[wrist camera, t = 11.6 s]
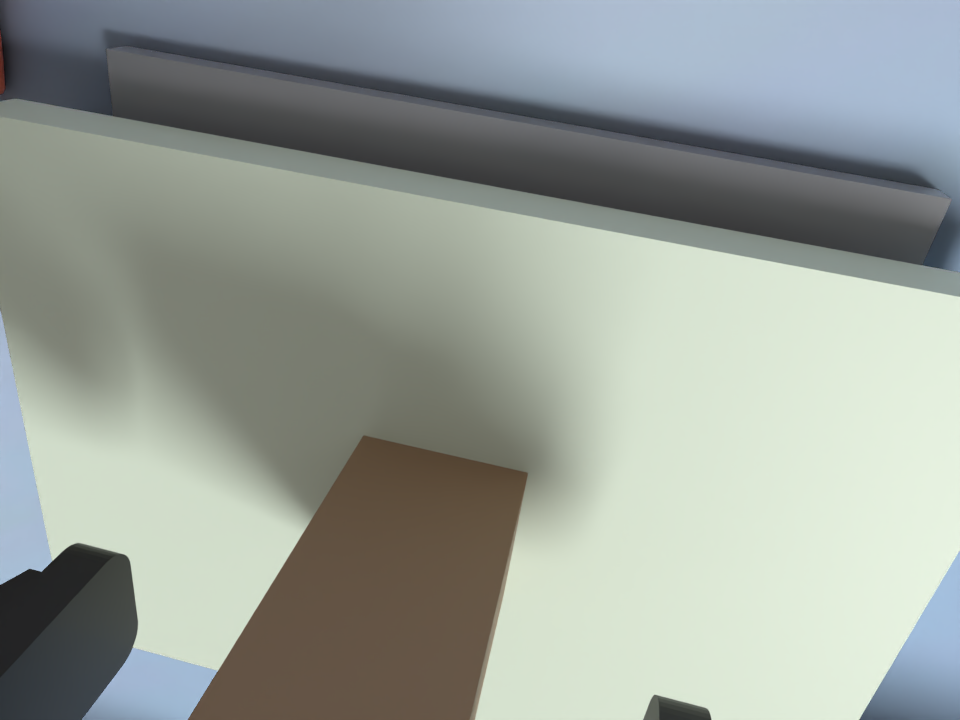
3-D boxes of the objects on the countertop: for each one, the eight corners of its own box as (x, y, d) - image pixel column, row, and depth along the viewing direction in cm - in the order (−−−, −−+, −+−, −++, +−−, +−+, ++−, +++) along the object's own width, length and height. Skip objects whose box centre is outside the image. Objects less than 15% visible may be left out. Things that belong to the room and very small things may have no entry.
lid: (1032, 274, 11) (1826, 882, 4) (781, 749, 17) (890, 1372, 10) (39, 93, 13) (-780, 250, 6) (113, 576, 19) (-244, 977, 11)
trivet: (938, 189, 12) (951, 198, 11) (696, 736, 18) (698, 759, 18) (126, 45, 13) (105, 48, 13) (177, 599, 20) (165, 616, 19)
